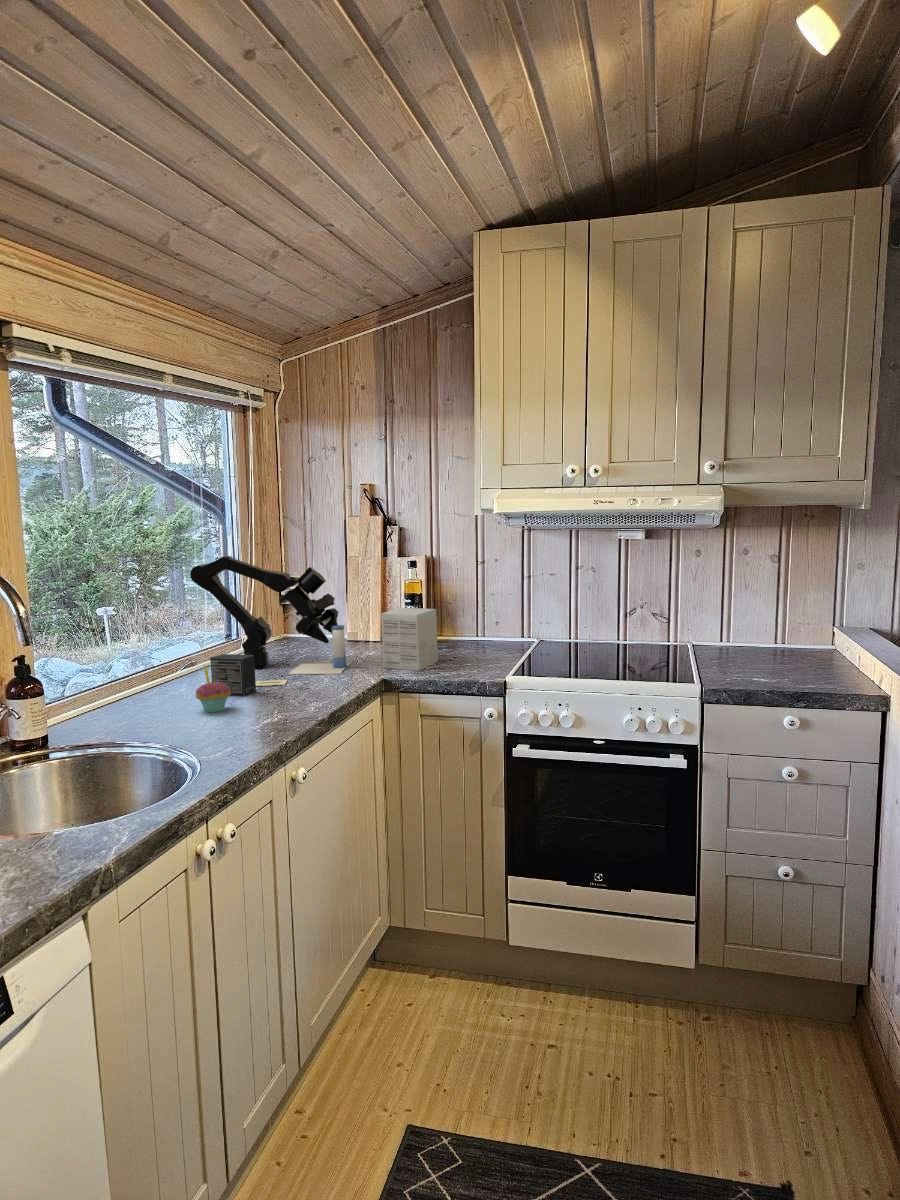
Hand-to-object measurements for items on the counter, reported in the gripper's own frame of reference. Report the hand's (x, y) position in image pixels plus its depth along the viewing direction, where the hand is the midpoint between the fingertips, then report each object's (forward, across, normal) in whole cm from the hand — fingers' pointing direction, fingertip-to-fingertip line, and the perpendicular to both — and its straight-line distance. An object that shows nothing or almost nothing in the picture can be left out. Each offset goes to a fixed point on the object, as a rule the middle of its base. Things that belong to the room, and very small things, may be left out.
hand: (335, 639), depth 245 cm
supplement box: (+22, +9, -9) cm, 25 cm away
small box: (-2, -36, +16) cm, 39 cm away
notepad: (+4, -2, +9) cm, 10 cm away
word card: (0, -24, +12) cm, 27 cm away
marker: (+7, 0, +5) cm, 9 cm away
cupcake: (+2, -53, +12) cm, 54 cm away
